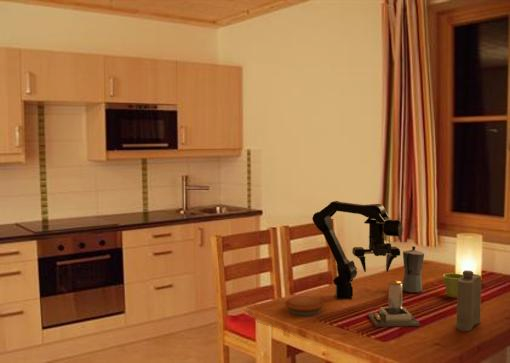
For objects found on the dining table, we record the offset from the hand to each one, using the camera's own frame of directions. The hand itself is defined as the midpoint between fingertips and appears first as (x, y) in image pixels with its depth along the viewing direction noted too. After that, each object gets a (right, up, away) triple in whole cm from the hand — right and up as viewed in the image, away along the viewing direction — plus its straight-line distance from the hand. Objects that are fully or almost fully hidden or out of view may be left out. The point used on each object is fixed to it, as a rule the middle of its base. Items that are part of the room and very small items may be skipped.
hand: (375, 271), depth 226 cm
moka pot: (+20, -12, +17) cm, 29 cm away
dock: (+2, -15, -22) cm, 26 cm away
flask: (+27, -15, -27) cm, 41 cm away
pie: (-31, -15, -10) cm, 35 cm away
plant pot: (+36, -12, +10) cm, 39 cm away
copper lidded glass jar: (+3, -14, -21) cm, 25 cm away
